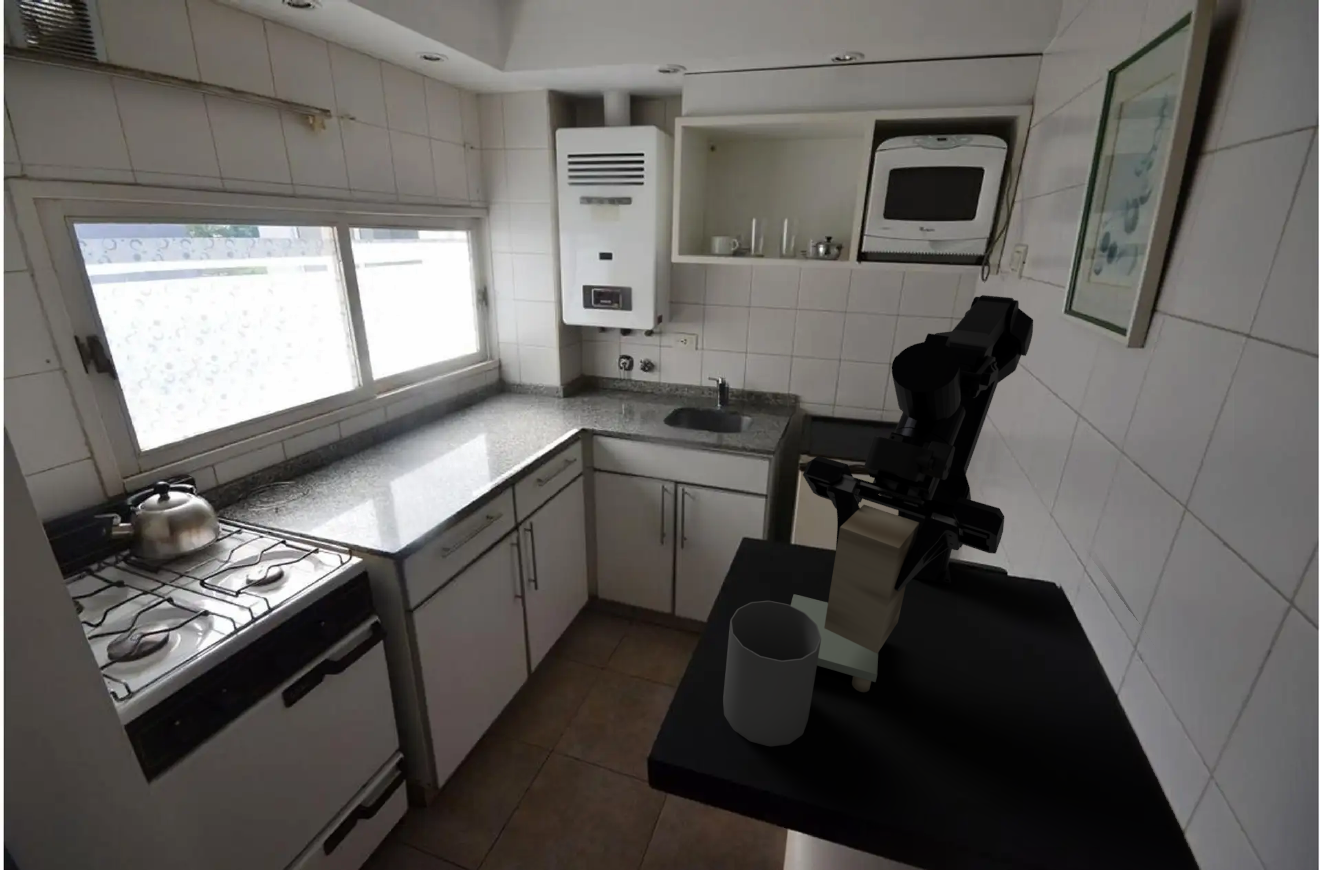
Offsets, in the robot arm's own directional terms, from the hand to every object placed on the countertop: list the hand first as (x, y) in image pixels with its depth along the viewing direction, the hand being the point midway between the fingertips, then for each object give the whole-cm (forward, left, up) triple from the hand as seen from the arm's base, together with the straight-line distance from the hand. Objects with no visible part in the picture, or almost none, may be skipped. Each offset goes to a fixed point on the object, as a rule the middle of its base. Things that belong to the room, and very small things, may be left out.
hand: (865, 577), depth 55 cm
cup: (+7, -7, -14) cm, 17 cm away
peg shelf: (-4, -2, -13) cm, 14 cm away
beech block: (-1, 0, -7) cm, 7 cm away
